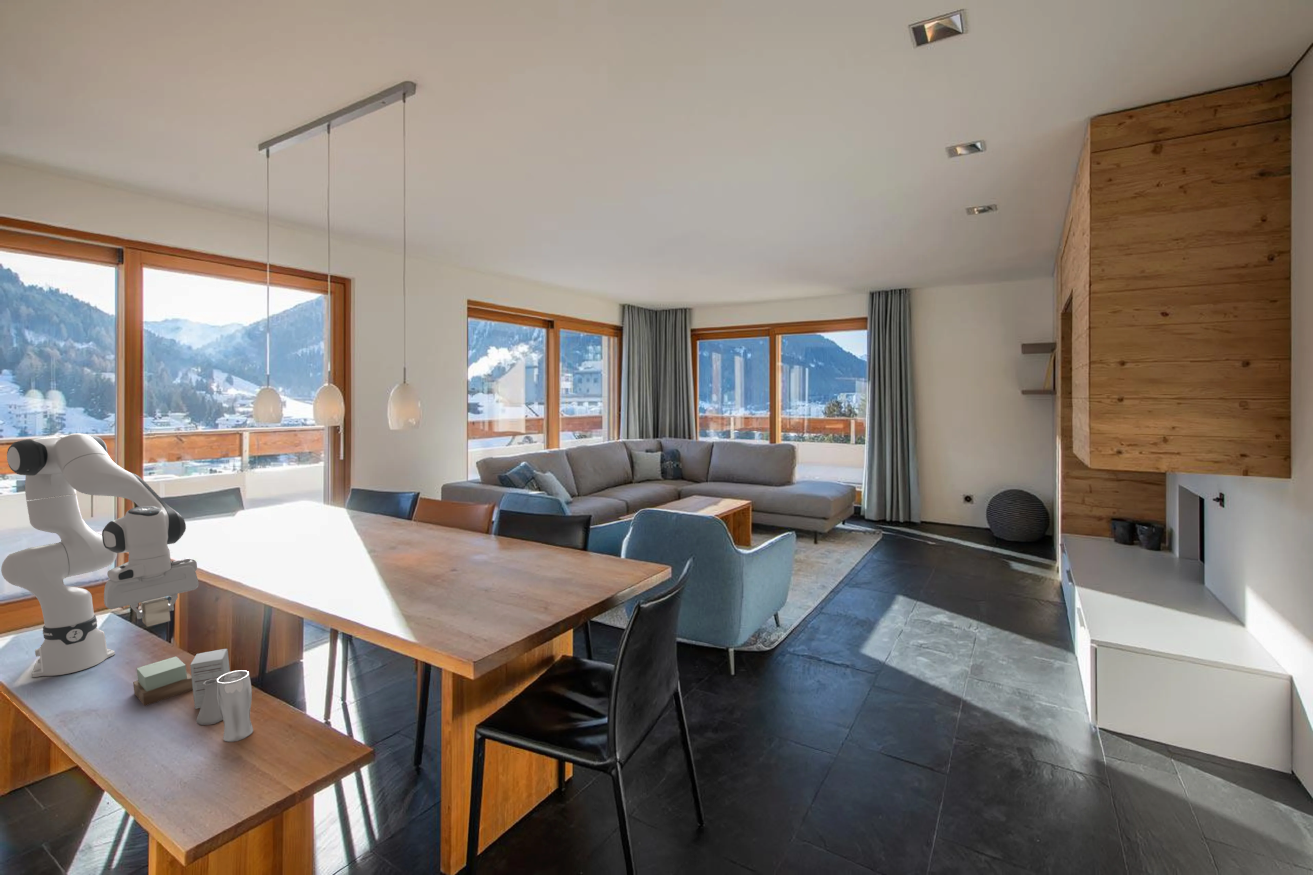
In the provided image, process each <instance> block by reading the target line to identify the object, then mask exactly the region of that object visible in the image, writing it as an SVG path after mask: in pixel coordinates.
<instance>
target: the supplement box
mask: <svg viewBox="0 0 1313 875" xmlns="http://www.w3.org/2000/svg"><path fill="white" fill-rule="evenodd" d="M229 660H230V659H229V650H228V648H221V649H216V650H212V651H205V652H200V653H199V652H198V653H196V655H195V656H194V658H193V659H192V661H191V663H190V664H189V666H190V675H191V677H192V687H193V690H192V694H193V702H194V709H197V710H198V709H201V706H202V702H203V699H204V693H205V687H204V685H203V683H204V682H205V681H207V680H210V679H216V678H217V679H218V678H219V677H220V676H222V675H224V674H227V673H230V672H231V669H230V668H231V667H230V661H229Z"/></svg>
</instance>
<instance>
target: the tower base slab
mask: <svg viewBox="0 0 1313 875" xmlns="http://www.w3.org/2000/svg"><path fill="white" fill-rule="evenodd" d="M186 674H187V679H184V680H181V681H178V682H174V683H171V684H168V685H165V686H162V687H159V688H156V689H153V690H150V691H147V692H146V691H145V689H144V688H143V687H142V686H141V685H140V683H139V682H138V679H137V680H134V681H132V684H133V693H134V696H136V697H137V699H138V700H139V701H140V702H141V704H142V705H143V706H144V707H146V706H149V705H151V704H154V703H158V702H161V701H163V700H167V699H170V698H172V697H175V696H178V695H181V694H184V693H187V692H190V691H193V687H192V677H191V674H190V673H189V672H188V671H186Z"/></svg>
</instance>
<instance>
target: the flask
mask: <svg viewBox="0 0 1313 875" xmlns="http://www.w3.org/2000/svg"><path fill="white" fill-rule="evenodd" d="M203 685H204V687H205V693H204V699H203V702H202V706H201V708H199V712H198V715H197V717H196V720H195V723H196V724H199V725H201V726H204V725H205V726H208V725H209V726H210V725H215V724H217V723H219V722H221V721H222V722H223V718H222V715H221V712H220V709H219V706H218V701H217V678H216V679H210V680H207V681H205V682H204V683H203Z"/></svg>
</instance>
